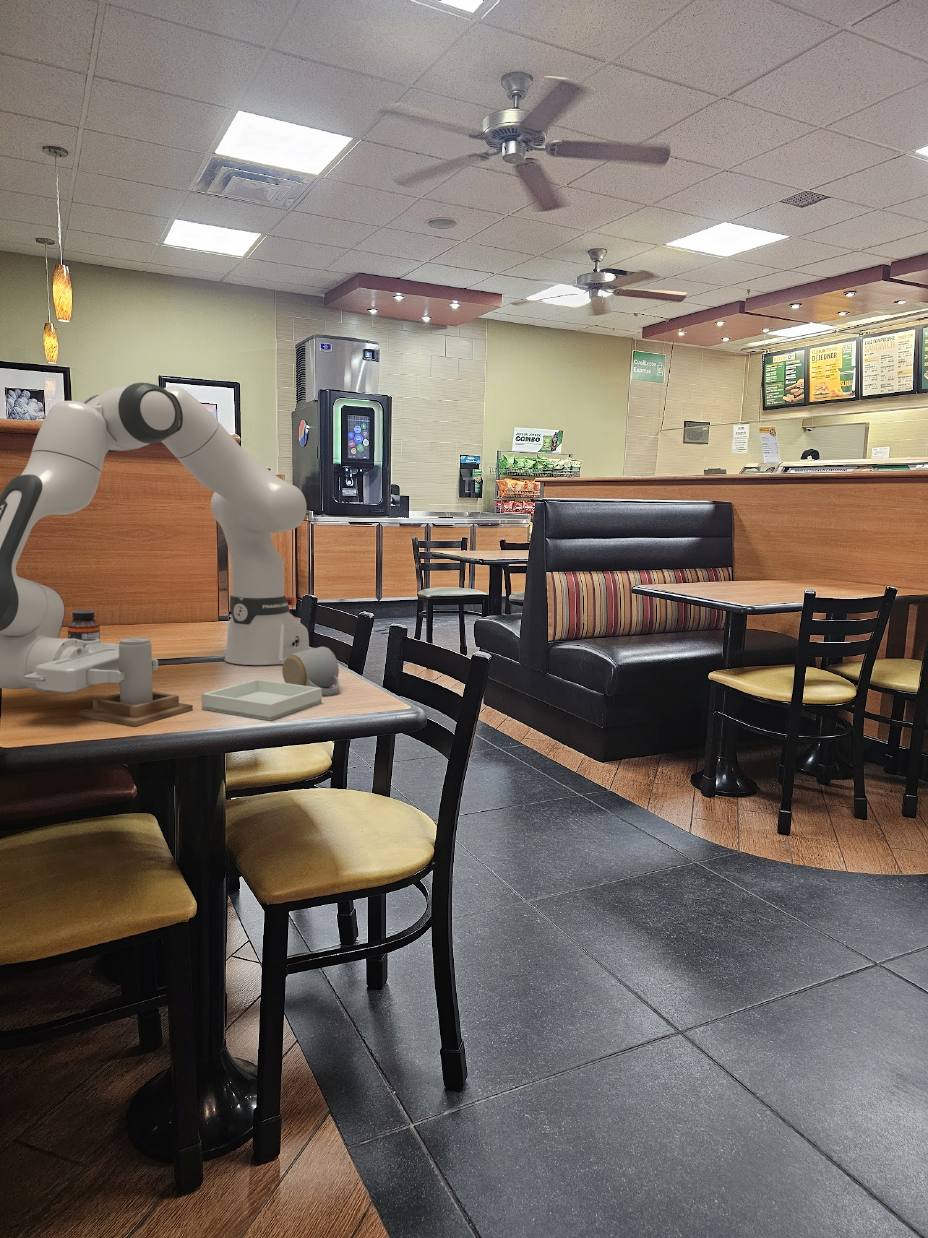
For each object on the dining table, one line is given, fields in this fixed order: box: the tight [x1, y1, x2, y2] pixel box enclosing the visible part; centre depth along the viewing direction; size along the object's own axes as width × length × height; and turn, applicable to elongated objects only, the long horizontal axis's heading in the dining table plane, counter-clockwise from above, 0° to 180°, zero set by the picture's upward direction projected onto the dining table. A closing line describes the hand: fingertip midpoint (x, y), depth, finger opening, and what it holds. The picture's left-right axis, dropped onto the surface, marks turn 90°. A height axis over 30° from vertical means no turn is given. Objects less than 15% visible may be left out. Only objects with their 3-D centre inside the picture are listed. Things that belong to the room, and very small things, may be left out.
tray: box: [201, 678, 323, 722], centre depth 133 cm, size 14×14×3 cm
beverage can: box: [118, 636, 154, 705], centre depth 126 cm, size 5×5×12 cm
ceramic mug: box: [282, 646, 340, 697], centre depth 146 cm, size 11×8×8 cm
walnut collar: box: [77, 691, 194, 728], centre depth 126 cm, size 12×12×2 cm
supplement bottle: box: [67, 609, 101, 640], centre depth 161 cm, size 6×6×11 cm
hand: (139, 670), depth 126 cm, fingers open, 8 cm apart
